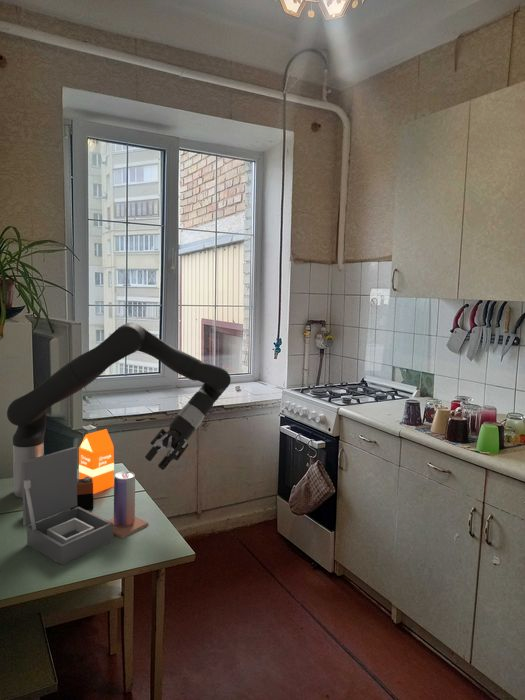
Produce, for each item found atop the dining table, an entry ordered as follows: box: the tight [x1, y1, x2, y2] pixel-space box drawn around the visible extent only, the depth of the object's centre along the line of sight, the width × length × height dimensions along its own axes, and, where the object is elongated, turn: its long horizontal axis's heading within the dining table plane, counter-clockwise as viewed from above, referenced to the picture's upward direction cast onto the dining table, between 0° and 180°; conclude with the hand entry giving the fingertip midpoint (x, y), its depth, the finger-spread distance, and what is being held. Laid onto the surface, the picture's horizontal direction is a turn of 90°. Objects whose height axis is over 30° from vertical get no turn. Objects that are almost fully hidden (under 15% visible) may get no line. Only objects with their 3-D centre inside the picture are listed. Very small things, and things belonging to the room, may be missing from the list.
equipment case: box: [22, 446, 114, 566], centre depth 138 cm, size 18×16×23 cm
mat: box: [107, 516, 149, 539], centre depth 149 cm, size 10×10×1 cm
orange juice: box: [78, 428, 115, 495], centre depth 174 cm, size 8×9×20 cm
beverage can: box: [113, 471, 136, 527], centre depth 148 cm, size 6×6×15 cm
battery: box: [69, 477, 94, 511], centre depth 158 cm, size 4×7×10 cm, turn 111°
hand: (153, 463), depth 152 cm, fingers open, 8 cm apart
